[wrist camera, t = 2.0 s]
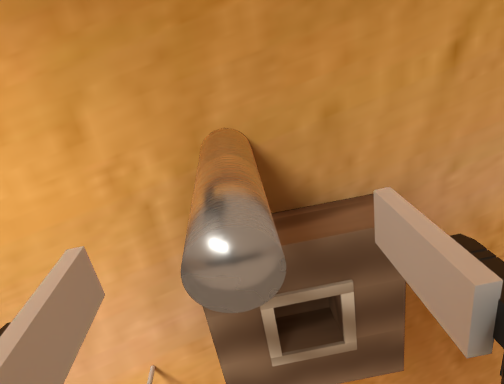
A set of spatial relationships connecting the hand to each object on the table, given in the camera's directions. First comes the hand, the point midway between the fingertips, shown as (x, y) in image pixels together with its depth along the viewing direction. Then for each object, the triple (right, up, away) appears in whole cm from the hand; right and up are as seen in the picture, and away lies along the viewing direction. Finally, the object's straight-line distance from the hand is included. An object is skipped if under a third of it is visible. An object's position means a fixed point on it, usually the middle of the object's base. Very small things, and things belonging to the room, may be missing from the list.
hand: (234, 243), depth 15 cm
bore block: (+5, -6, +17) cm, 19 cm away
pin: (-1, +5, +11) cm, 12 cm away
